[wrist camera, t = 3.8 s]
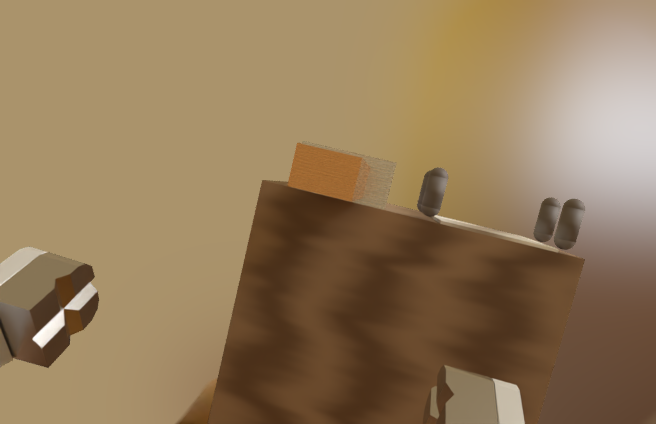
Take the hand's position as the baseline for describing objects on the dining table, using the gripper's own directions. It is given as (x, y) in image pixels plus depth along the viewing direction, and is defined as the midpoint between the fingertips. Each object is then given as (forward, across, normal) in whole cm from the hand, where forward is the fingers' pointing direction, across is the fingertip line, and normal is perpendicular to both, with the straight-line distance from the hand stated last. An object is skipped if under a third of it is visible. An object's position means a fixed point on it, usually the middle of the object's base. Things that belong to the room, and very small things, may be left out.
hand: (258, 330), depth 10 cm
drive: (+17, -1, -7) cm, 18 cm away
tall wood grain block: (+10, +4, -33) cm, 35 cm away
